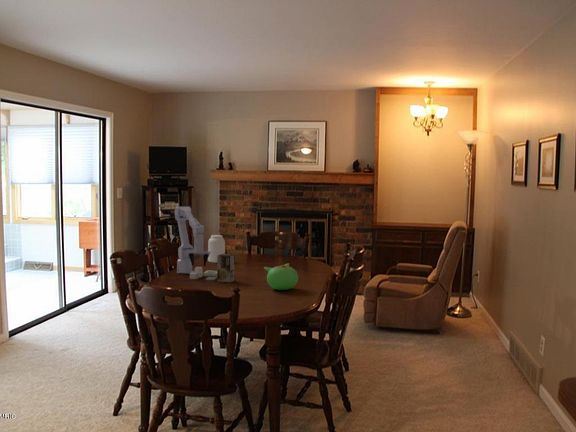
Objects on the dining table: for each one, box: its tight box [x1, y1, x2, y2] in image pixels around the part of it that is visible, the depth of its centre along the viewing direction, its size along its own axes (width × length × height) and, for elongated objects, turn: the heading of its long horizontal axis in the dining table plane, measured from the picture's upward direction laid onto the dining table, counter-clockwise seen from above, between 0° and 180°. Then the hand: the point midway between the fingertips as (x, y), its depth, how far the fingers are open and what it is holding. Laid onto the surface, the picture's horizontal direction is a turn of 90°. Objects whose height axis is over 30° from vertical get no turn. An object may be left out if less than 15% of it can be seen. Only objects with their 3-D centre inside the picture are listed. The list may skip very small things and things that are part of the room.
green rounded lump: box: [263, 262, 299, 291], centre depth 289 cm, size 18×17×15 cm
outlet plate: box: [202, 270, 217, 277], centre depth 328 cm, size 12×9×2 cm
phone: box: [204, 276, 217, 282], centre depth 314 cm, size 6×8×1 cm
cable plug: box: [189, 272, 200, 280], centre depth 315 cm, size 5×4×4 cm
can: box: [207, 234, 226, 264], centre depth 382 cm, size 12×12×20 cm
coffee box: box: [216, 253, 235, 283], centre depth 309 cm, size 9×6×16 cm
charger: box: [194, 266, 204, 279], centre depth 321 cm, size 4×4×6 cm
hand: (198, 265), depth 321 cm, fingers open, 7 cm apart
